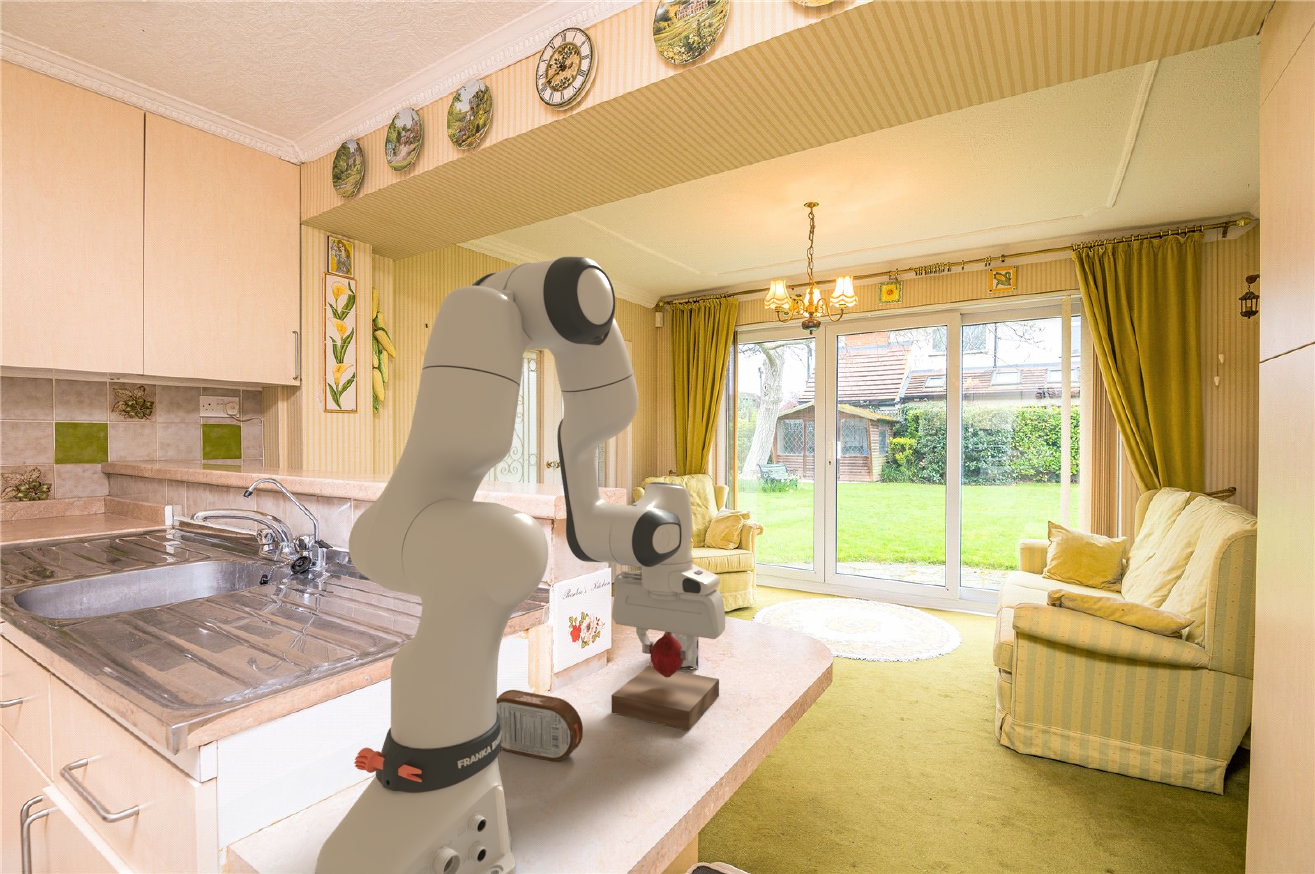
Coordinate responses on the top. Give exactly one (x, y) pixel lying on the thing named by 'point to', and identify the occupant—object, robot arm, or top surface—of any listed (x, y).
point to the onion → (666, 655)
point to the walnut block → (666, 698)
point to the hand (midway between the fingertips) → (667, 655)
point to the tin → (538, 725)
